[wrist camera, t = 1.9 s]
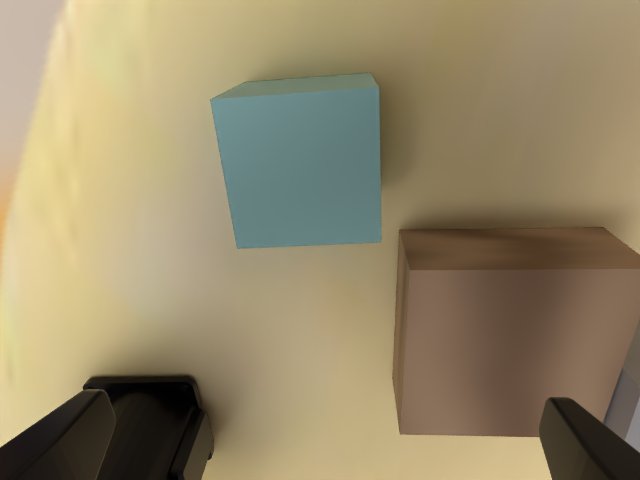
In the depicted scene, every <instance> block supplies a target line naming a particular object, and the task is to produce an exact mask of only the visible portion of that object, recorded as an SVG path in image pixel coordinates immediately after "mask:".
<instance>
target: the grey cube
mask: <svg viewBox="0 0 640 480" xmlns="http://www.w3.org/2000/svg"><path fill="white" fill-rule="evenodd" d="M603 424H605V425H606V426H607V427H608V428H610V429H611V430H612V431H613V432H615V433H616V434H617V435H618V436H620V437H621V438H622V439H623V440H625V441H626V442H627V443H629V444H630V445H631V446H632V447H634V448H635V449H636V450H637V451H639V452H640V319H639V322H638V325H637V328H636V331H635V333H634V336H633V339H632V342H631V345H630V347H629V350H628V353H627V356H626V359H625V361H624V364H623V367H622V370H621V373H620V376H619V378H618V381H617V384H616V387H615V390H614V392H613V395H612V398H611V401H610V404H609V406H608V409H607V412H606V415H605V418H604V421H603Z"/></svg>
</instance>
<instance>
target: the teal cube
mask: <svg viewBox="0 0 640 480" xmlns="http://www.w3.org/2000/svg"><path fill="white" fill-rule="evenodd" d="M210 101H211V106H212V112H213V117H214V123H215V128H216V134H217V139H218V145H219V151H220V156H221V162H222V167H223V173H224V178H225V184H226V189H227V195H228V200H229V206H230V211H231V217H232V222H233V228H234V234H235V239H236V245H237V249H239V248H262V247H285V246H308V245H331V244H354V243H377V242H381V173H380V101H379V86H378V84H377V83H376V81H375V79H374V78H373V76H372V74H371V73H358V74H345V75H331V76H318V77H305V78H292V79H279V80H265V81H252V82H244V83H242V84H240V85H238V86H236V87H234V88H232V89H230V90H228V91H226V92H224V93H222V94H220V95H218V96H216V97H214V98H212V99H210Z"/></svg>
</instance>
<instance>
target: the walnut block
mask: <svg viewBox="0 0 640 480" xmlns="http://www.w3.org/2000/svg"><path fill="white" fill-rule="evenodd" d="M639 319H640V255H639V254H637V253H636V252H635V251H634V250H632V249H631V248H630V247H628V246H627V245H626V244H624V243H623V242H622V241H620V240H619V239H618V238H616V237H615V236H614V235H613V234H611V233H610V232H609V231H607V230H606V229H605V228H603V227H584V228H509V229H435V230H399V246H398V268H397V290H396V312H395V334H394V356H393V377H392V378H393V386H394V393H395V401H396V408H397V416H398V423H399V431H400V434H407V435H458V436H509V437H540V436H539V424H540V420H541V417H542V413H543V409H544V405H545V402H546V400H547V399H548V398H550V397H568V398H571V399H573V400H574V401H576V402H577V403H578V404H580V405H581V406H582V407H583V408H585V409H586V410H587V411H588V412H590V413H591V414H592V415H593V416H595V417H596V418H597V419H598V420H600V421H601V422H602V423H603V421H604V418H605V415H606V412H607V409H608V406H609V404H610V401H611V398H612V395H613V392H614V390H615V387H616V384H617V381H618V378H619V376H620V373H621V370H622V367H623V364H624V361H625V359H626V356H627V353H628V350H629V347H630V345H631V342H632V339H633V336H634V333H635V331H636V328H637V325H638V322H639Z"/></svg>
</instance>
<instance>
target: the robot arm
mask: <svg viewBox="0 0 640 480" xmlns="http://www.w3.org/2000/svg"><path fill="white" fill-rule="evenodd" d="M185 385H186V386H185ZM187 386H188V387H187ZM539 436H540V440H541V443H542V447H543V450H544V454H545V457H546V460H547V464H548V467H549V470H550V474H551V477H552V480H640V452H639V451H637V450H636V449H635V448H634V447H632V446H631V445H630V444H629V443H627V442H626V441H625V440H623V439H622V438H621V437H620V436H618V435H617V434H616V433H615V432H613V431H612V430H611V429H610V428H608V427H607V426H606V425H605V424H603V423H602V422H601V421H600V420H598V419H597V418H596V417H595V416H593V415H592V414H591V413H590V412H588V411H587V410H586V409H585V408H583V407H582V406H581V405H580V404H578V403H577V402H576V401H574V400H573V399H571V398H568V397H550V398H548V399H547V400H546V402H545V405H544V409H543V413H542V417H541V420H540V424H539ZM213 441H214V440H213V436H212V432H211V428H210V424H209V421H208V417H207V413H206V411H205V410H204V409H203V408H202V404H201V401H200V397H199V393H198V389H197V386H196V383H195V381H194V380H193V379H192V378H190V377H136V378H91V379H89V380H87V382H86V383H85V384H84V386H83V391H81V392H80V393H78V394H77V395H75V396H74V397H73V398H71V399H70V400H68V401H67V402H65V403H64V404H62V405H61V406H60V407H58V408H57V409H55V410H54V411H52V412H51V413H49V414H48V415H47V416H45V417H44V418H42V419H41V420H39V421H38V422H36V423H35V424H33V425H32V426H31V427H29V428H28V429H26V430H25V431H23V432H22V433H20V434H19V435H18V436H16V437H15V438H13V439H12V440H10V441H9V442H7V443H6V444H5V445H3V446H2V447H0V480H201V478H202V475H203V472H204V469H205V466H206V463H207V460H210V459H211V458H212V455H213V452H214V449H213V445H212V444H213Z"/></svg>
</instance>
